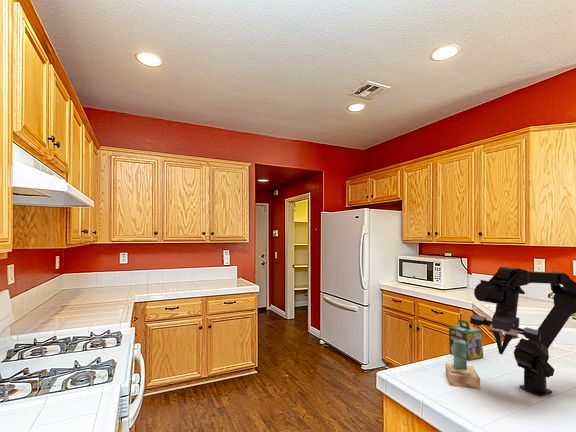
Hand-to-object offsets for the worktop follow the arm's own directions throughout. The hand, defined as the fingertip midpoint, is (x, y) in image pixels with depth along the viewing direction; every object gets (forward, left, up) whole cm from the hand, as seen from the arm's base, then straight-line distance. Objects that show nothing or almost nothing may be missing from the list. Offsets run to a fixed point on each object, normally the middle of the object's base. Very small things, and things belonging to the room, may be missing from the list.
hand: (500, 354), depth 105 cm
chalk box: (-18, -27, -13) cm, 35 cm away
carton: (+4, -12, -13) cm, 17 cm away
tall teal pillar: (+4, -12, -9) cm, 16 cm away
